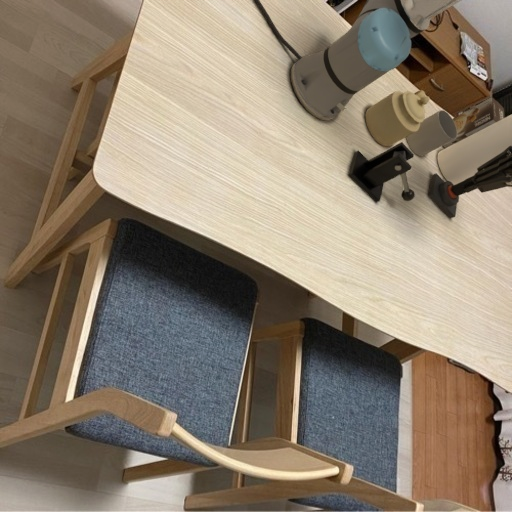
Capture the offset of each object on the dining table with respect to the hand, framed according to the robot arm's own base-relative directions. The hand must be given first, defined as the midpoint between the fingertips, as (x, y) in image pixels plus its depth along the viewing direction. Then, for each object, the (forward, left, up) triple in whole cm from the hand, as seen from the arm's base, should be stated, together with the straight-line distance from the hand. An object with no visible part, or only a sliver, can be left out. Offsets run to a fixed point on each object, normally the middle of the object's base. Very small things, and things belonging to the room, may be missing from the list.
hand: (454, 191), depth 152 cm
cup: (-13, +10, -4) cm, 17 cm away
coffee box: (0, +24, -4) cm, 24 cm away
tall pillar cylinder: (+1, +13, -4) cm, 14 cm away
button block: (0, 0, -4) cm, 4 cm away
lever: (-23, -17, +2) cm, 29 cm away
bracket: (-27, -17, -4) cm, 32 cm away
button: (0, 0, -2) cm, 2 cm away
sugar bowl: (-27, +4, -4) cm, 28 cm away
